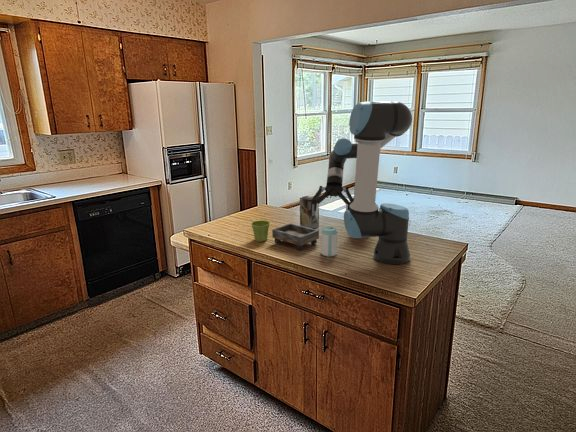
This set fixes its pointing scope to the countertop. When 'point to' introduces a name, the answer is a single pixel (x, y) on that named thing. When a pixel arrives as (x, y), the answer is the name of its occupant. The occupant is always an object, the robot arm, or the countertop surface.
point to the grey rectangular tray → (295, 235)
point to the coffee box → (308, 213)
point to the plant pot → (260, 230)
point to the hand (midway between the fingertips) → (331, 217)
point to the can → (329, 241)
